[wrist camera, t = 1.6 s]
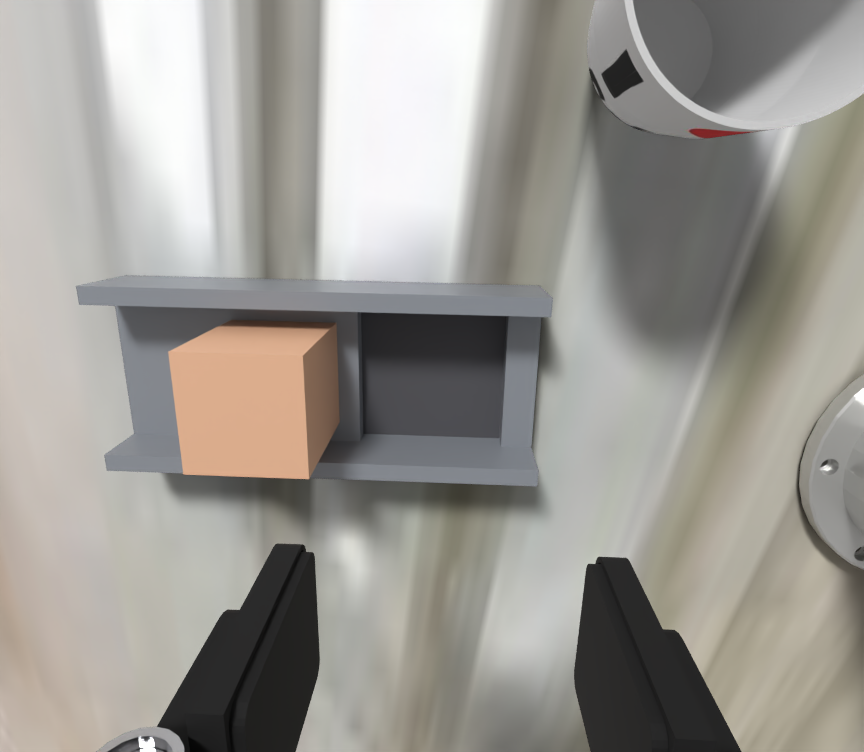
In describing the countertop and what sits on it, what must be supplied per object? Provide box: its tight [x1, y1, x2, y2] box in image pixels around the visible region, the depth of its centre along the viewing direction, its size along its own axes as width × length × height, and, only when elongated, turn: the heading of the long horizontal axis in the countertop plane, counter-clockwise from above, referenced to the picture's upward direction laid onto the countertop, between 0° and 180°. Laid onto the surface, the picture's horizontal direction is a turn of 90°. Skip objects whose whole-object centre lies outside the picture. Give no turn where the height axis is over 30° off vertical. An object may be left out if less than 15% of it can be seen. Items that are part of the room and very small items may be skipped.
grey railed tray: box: [76, 275, 553, 486], centre depth 26 cm, size 20×9×4 cm, turn 89°
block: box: [168, 320, 340, 479], centre depth 24 cm, size 5×5×6 cm
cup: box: [587, 0, 864, 139], centre depth 19 cm, size 8×8×10 cm
